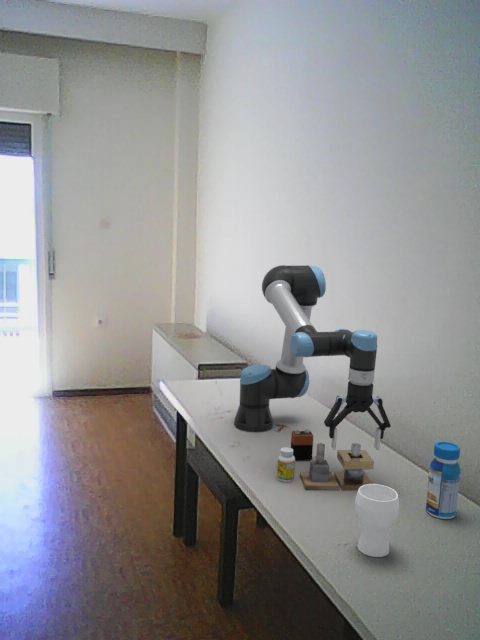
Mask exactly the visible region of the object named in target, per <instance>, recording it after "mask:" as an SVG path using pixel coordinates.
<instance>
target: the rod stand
mask: <svg viewBox="0 0 480 640" xmlns="http://www.w3.org/2000/svg"><path fill="white" fill-rule="evenodd" d="M325 447H326V444H324V443H323V442H318V443H317V444H316V455H315V457H316V458H315V459H312V460H309V471H299V479H300V480H301V482H302V485H303V488H304V490H305V491H339V488H340V487H339V485H338V483H337V481H336V479H335V477H334V473H332V471H330V464H329V463H328V461H327V460H326V459H325V451H326V450H325Z"/></svg>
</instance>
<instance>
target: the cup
mask: <svg viewBox="0 0 480 640" xmlns="http://www.w3.org/2000/svg"><path fill="white" fill-rule="evenodd" d="M354 499H355V500H354V509H355V514H356V518H357V521H358V522H359V526H360V529H359V530H360V535H359V538H358V542H357V549H358V550H359V551H360V552H361V553H362V554H364V555H366V556H369V557H373V558H382V557H385V556H388V555H389V553H390V541H389V537H390V533H391V529H392V528H393V526H394V525H395V524H396V522H397V519H398V517H399V514H400V500H399V494H398V492H397V491H396V490H395V489H393V488H391V487H389V486H386V485H382V484H379V483H373V484H366V485H363V486H361V487H360V488H359V489H358V490H357V493H356V496H355V498H354Z"/></svg>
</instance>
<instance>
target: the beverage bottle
mask: <svg viewBox="0 0 480 640" xmlns="http://www.w3.org/2000/svg"><path fill="white" fill-rule="evenodd" d="M433 455H434V458H433V459H432V461H431V462H430V464H429V469H430V471H429V472H428V483H427V494H426V503H425V511H426V512H427V513H428V514H429V515H430V516H432V517H435V518H438V519H442V520H451V519H453V518H455V517H456V516H457V507H458V498H459V490H460V483H461V477H460V474H461V472H462V471H461V470H462V469H461V466H460V464H459V462H458V461H459V459H460V455H461V447H460V446H459V445H458V444H456V443H454V442H450V441H437V442H435V443H434V449H433Z"/></svg>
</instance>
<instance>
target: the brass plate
mask: <svg viewBox="0 0 480 640" xmlns="http://www.w3.org/2000/svg"><path fill="white" fill-rule="evenodd" d="M336 453H337V454H336V458H337V460H338V461H339V463H340V465H341V466H342V468H343V470H344V469H364V470H374V469H375V468H374V466H375V461H374V459H373V458H372V457H371V456H370V454H369V453H368V451H367V450H366V449H360V458H351V449H337V452H336Z"/></svg>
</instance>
